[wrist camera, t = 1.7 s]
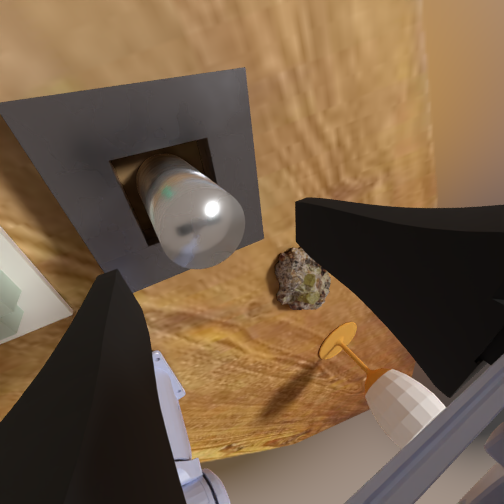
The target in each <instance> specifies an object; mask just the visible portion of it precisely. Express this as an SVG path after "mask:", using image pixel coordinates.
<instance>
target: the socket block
mask: <svg viewBox="0 0 504 504" xmlns="http://www.w3.org/2000/svg"><path fill="white" fill-rule="evenodd" d="M0 114H1V115H2V117H3V119H4V120H5V122H6V123H7V125H8V126H9V128H10V129H11V131H12V132H13V134H14V135H15V137H16V138H17V140H18V141H19V143H20V145H21V146H22V148H23V149H24V151H25V152H26V154H27V155H28V157H29V158H30V160H31V161H32V163H33V164H34V166H35V167H36V169H37V171H38V172H39V174H40V175H41V177H42V178H43V180H44V181H45V183H46V184H47V186H48V187H49V189H50V190H51V192H52V193H53V195H54V197H55V198H56V200H57V201H58V203H59V204H60V206H61V207H62V209H63V210H64V212H65V213H66V215H67V216H68V218H69V219H70V221H71V223H72V224H73V226H74V227H75V229H76V230H77V232H78V233H79V235H80V236H81V238H82V239H83V241H84V242H85V244H86V245H87V247H88V249H89V250H90V252H91V253H92V255H93V256H94V258H95V259H96V261H97V262H98V264H99V265H100V267H101V268H102V270H103V271H104V273H107V272H109V271H112V270H115V269H117V268H118V270H119V272H120V273H121V275H122V277H123V278H124V280H125V282H126V283H127V285H128V287H129V288H130V290H131V292H132V293H134V292H136V291H139V290H141V289H143V288H146V287H148V286H151V285H153V284H156V283H158V282H160V281H163V280H165V279H168V278H170V277H172V276H175V275H177V274H180V273H182V272H185V271H187V270H189V268H185V267H182V266H180V265H178V264H176V263H175V262H173V261H172V260H171V259H170V258H169V257H168V256H167V255H166V253H165V252H164V250H163V248H162V246H161V243H160V241H159V239H158V237H157V234H156V232H155V230H154V227H153V228H150V229H147V230H144V231H143V230H142V228H141V225H140V223H139V221H138V219H137V217H136V215H135V212H134V210H133V208H132V206H131V204H130V202H129V199H128V197H127V195H126V193H125V191H124V189H123V186H122V184H121V182H120V180H119V178H118V176H117V173H116V171H115V169H114V167H113V165H112V163H111V160H114V159H118V158H122V157H127V156H131V155H135V154H139V153H144V152H148V151H152V150H156V149H161V148H165V147H169V146H173V145H177V144H182V143H186V142H190V141H194V140H197V144H198V149H199V153H200V157H201V161H202V165H203V169H204V173H205V176H206V177H208V178H209V179H210V180H212V181H213V182H214V183H216V184H217V185H218V186H220V187H221V188H222V189H224V190H225V191H226V192H228V193H229V194H230V195H232V196H233V197H234V198H235V199H236V200H237V201H238V202H239V204H240V205H241V207H242V209H243V212H244V216H245V230H244V234H243V238H242V240H241V242H240V244H239V246H238V247H237V248H236V250H238V249H240V248H243V247H245V246H247V245H250V244H252V243H255V242H257V241H260V240H262V239H264V234H263V225H262V216H261V207H260V198H259V189H258V180H257V171H256V161H255V152H254V143H253V134H252V125H251V116H250V107H249V98H248V89H247V80H246V70H245V67H244V68H237V69H230V70H223V71H216V72H209V73H203V74H196V75H189V76H182V77H175V78H168V79H161V80H154V81H147V82H140V83H133V84H126V85H119V86H112V87H105V88H98V89H91V90H84V91H78V92H71V93H64V94H57V95H50V96H43V97H36V98H29V99H22V100H15V101H8V102H1V103H0Z"/></svg>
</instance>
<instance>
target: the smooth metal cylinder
mask: <svg viewBox="0 0 504 504" xmlns="http://www.w3.org/2000/svg"><path fill="white" fill-rule="evenodd" d="M136 186H137V190H138V193H139V195H140V197H141V200H142V202H143V204H144V207H145V209H146V211H147V213H148V216H149V218H150V220H151V223H152V225H153V227H154V230H155V232H156V234H157V237H158V239H159V241H160V243H161V246H162V248H163V250H164V252H165V253H166V255H167V256H168V257H169V258H170V259H171V260H172V261H173V262H175V263H176V264H178V265H180V266H182V267H185V268H189V269H204V268H209V267H212V266H215V265H217V264H219V263H221V262H222V261H224V260H225V259H227V258H228V257H229V256H230V255H231V254H232V253H233V252H234V251H235V250H236V248H237V247H238V246H239V244H240V242H241V240H242V238H243V234H244V230H245V216H244V212H243V209H242V207H241V205H240V204H239V202H238V201H237V200H236V199H235V198H234V197H233V196H232V195H230V194H229V193H228V192H226V191H225V190H224V189H222V188H221V187H220V186H218V185H217V184H216V183H214V182H213V181H212V180H210V179H209V178H208V177H206V176H205V175H203V174H202V173H201V172H199V171H198V170H197V169H195V168H194V167H193V166H191V165H190V164H189V163H187V162H186V161H185V160H183V159H182V158H180V157H178V156H176V155H173V154H167V153H161V154H156V155H153V156H151V157H149V158H148V159H146V160H145V161H144V162H143V163H142V165H141V166H140V168H139V170H138V172H137V176H136Z"/></svg>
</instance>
